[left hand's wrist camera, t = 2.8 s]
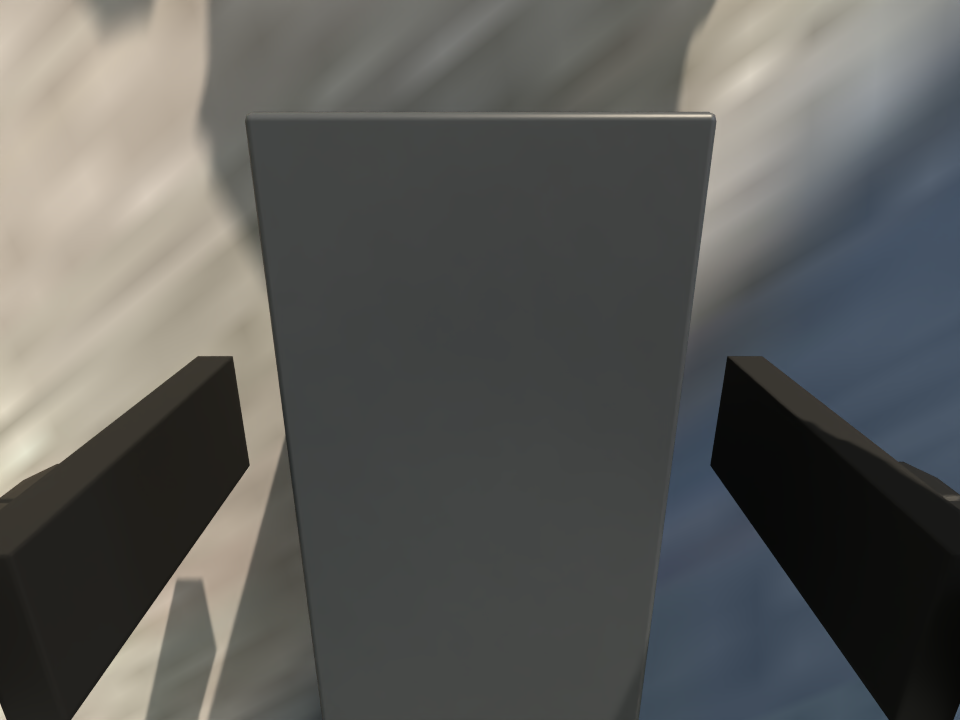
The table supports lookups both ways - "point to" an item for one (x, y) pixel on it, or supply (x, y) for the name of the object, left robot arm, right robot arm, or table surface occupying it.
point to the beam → (480, 395)
